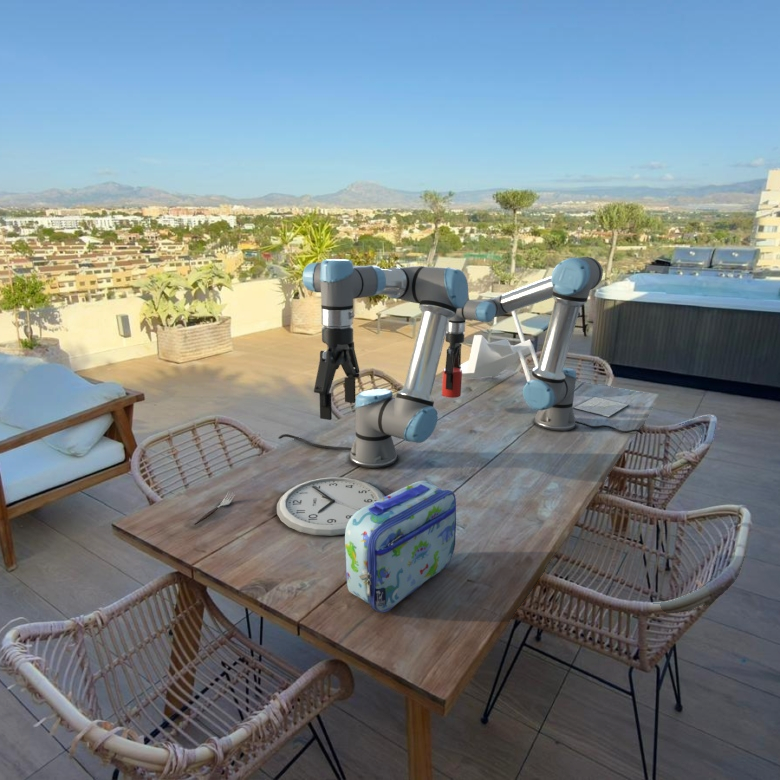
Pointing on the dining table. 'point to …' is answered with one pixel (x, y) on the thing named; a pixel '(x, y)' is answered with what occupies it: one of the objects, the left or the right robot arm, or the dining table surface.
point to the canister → (456, 384)
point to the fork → (223, 503)
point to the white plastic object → (497, 355)
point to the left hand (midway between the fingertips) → (338, 410)
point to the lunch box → (399, 543)
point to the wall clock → (325, 504)
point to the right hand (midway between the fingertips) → (451, 386)
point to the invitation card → (601, 406)
